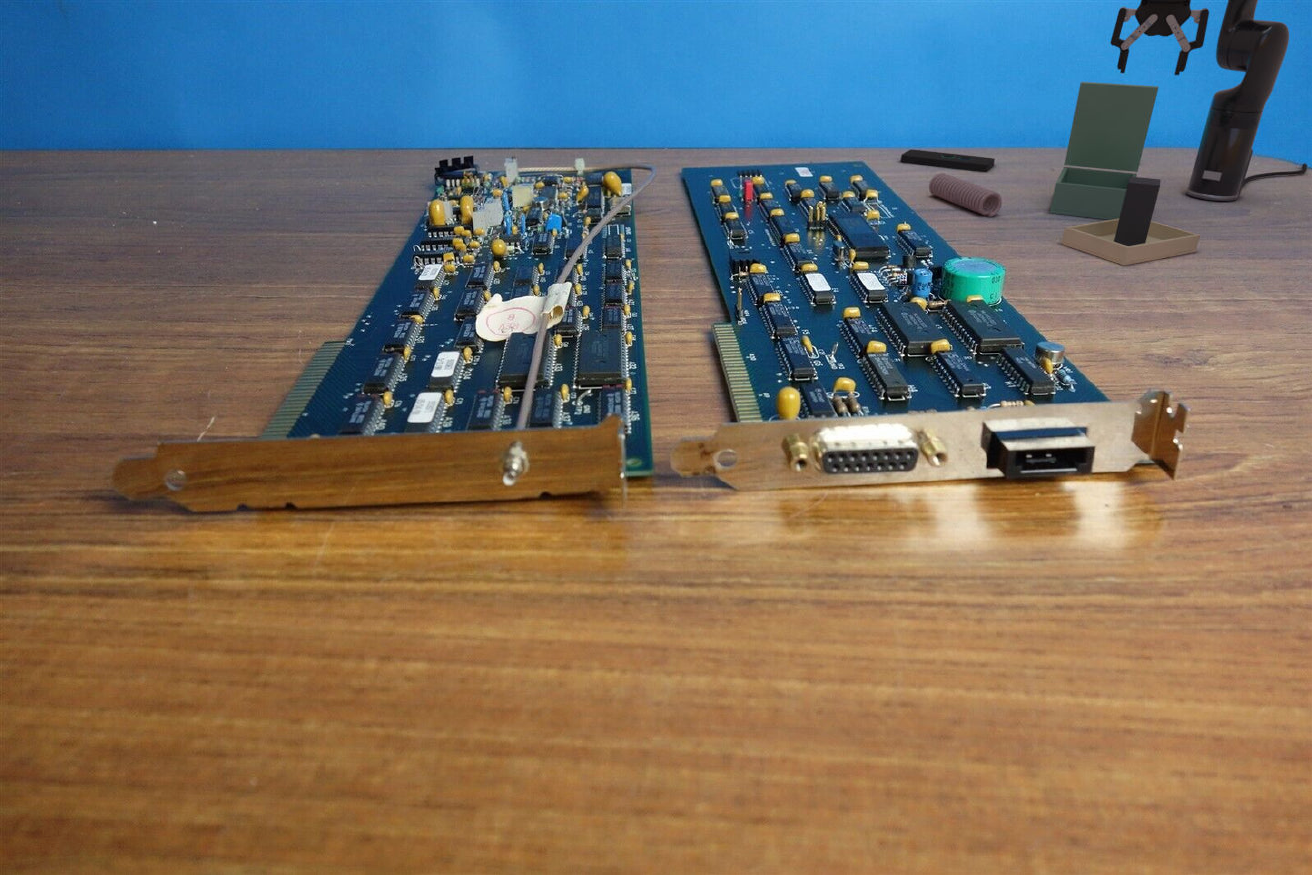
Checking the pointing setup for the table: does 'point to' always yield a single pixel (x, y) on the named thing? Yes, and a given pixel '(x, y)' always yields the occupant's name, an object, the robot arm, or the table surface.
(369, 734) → the table surface
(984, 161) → the smart home device
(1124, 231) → the block
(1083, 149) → the lid
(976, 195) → the coil
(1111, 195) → the chest
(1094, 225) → the tray
